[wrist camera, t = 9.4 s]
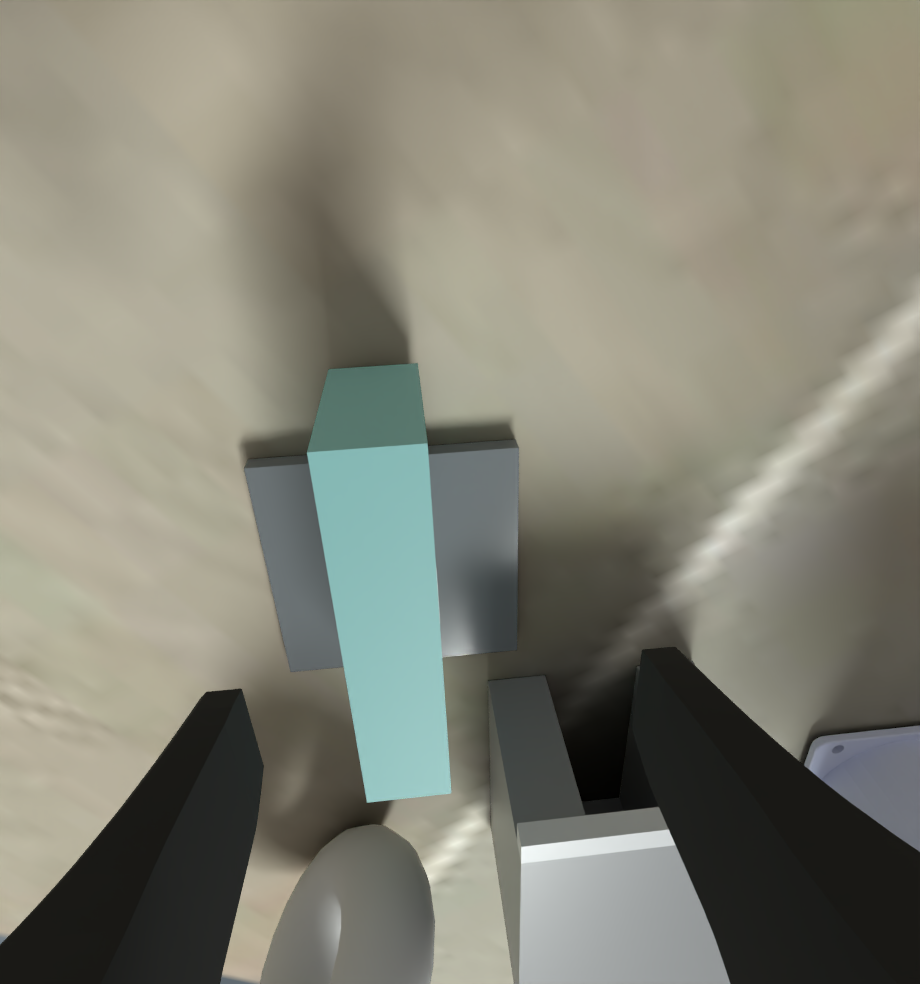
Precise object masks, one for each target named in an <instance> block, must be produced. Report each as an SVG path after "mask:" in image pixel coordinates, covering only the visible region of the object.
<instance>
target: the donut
mask: <svg viewBox="0 0 920 984" xmlns="http://www.w3.org/2000/svg"><path fill="white" fill-rule="evenodd" d="M434 931H435V919H434V911H433V904H432V897H431V890H430V885H429V881H428V878H427V875H426V872H425V870H424V868H423V866H422V863H421V861H420V859H419V856H418V854H417V852H416V850H415V849H414V848H413V847H412V845H411V844H410V843H409V842H408V841H407V840H405V839H404V838H403V837H401V836H400V835H399V834H397V833H396V832H394V831H393V830H391V829H389V828H388V827H386V826H383V825H375V824H372V825H365V826H359V827H354V828H350V829H346V830H345V831H343V832H342V833H341V834H339V835H338V836H336V837H335V838H334V839H333V840H331V841H330V842H329V843H328V844H326V845H325V846H324V847H323V848H322V849H321V850H320V851H319V852H318V854H317V855H316V856H315V858H314V859H313V861H312V862H311V863H310V865H309V866H308V867H307V869H306V870H305V871H304V873H303V874H302V876H301V877H300V879H299V881H298V883H297V885H296V887H295V889H294V891H293V892H292V894H291V896H290V898H289V900H288V902H287V904H286V906H285V908H284V911H283V913H282V916H281V918H280V921H279V923H278V926H277V928H276V930H275V933H274V935H273V938H272V942H271V945H270V948H269V951H268V955H267V958H266V961H265V964H264V968H263V971H262V975H261V980H260V984H430V982H431V976H432V970H433V959H434Z"/></svg>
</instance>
